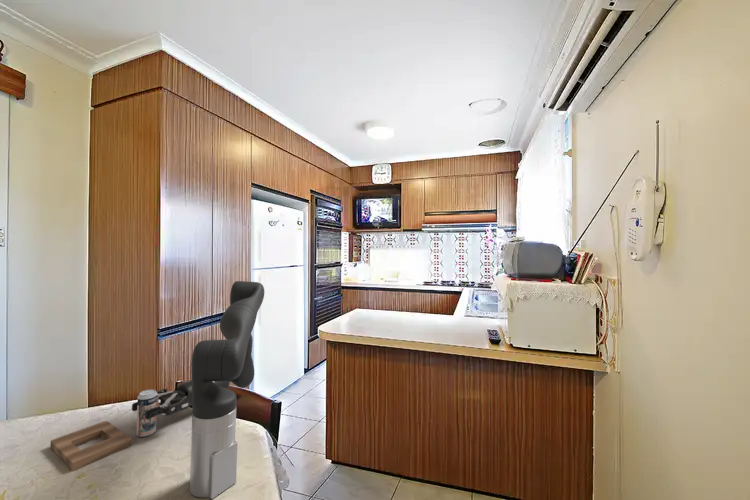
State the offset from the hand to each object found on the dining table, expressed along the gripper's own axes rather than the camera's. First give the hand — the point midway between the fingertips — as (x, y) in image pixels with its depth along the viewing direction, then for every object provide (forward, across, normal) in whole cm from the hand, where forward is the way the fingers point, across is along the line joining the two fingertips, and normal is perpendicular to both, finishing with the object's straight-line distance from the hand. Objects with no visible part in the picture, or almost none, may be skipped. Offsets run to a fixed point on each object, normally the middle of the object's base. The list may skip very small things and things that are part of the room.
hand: (138, 411), depth 91 cm
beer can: (-2, 0, +7) cm, 8 cm away
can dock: (+9, -5, +7) cm, 12 cm away
